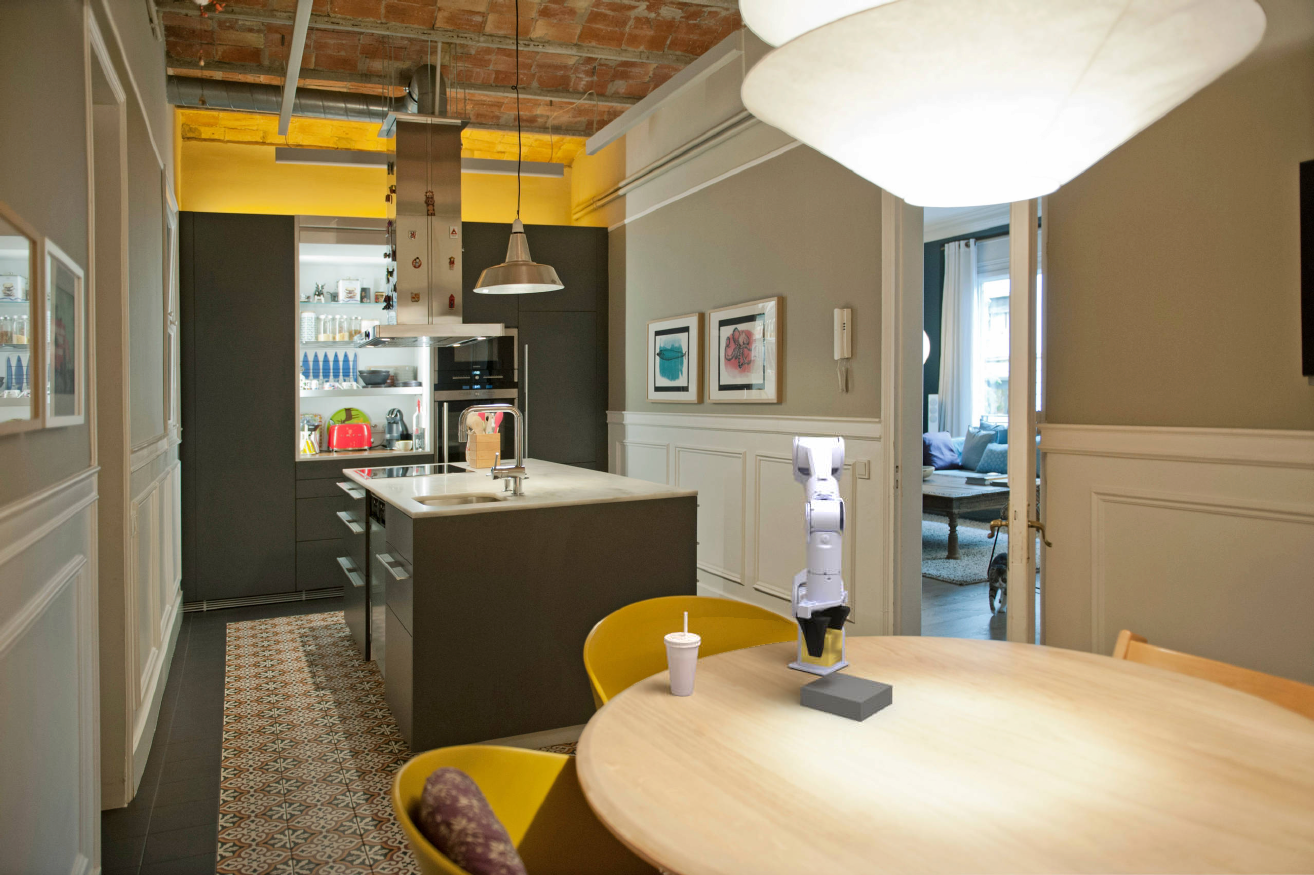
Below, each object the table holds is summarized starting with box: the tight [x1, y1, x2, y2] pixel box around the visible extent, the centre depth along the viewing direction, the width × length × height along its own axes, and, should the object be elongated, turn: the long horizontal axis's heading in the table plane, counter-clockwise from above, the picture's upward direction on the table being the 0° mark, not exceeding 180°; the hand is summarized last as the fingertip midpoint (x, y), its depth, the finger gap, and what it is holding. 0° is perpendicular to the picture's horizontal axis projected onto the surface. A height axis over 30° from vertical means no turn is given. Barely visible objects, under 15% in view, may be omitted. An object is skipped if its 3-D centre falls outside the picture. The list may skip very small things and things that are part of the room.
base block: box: [800, 671, 893, 723], centre depth 139 cm, size 11×11×4 cm
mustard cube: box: [801, 628, 842, 667], centre depth 140 cm, size 5×5×5 cm
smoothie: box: [663, 611, 702, 697], centre depth 144 cm, size 6×6×14 cm
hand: (822, 652), depth 140 cm, fingers closed on mustard cube, 5 cm apart
